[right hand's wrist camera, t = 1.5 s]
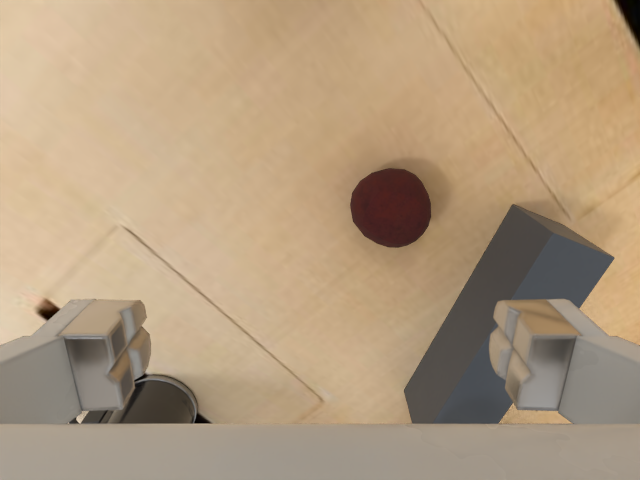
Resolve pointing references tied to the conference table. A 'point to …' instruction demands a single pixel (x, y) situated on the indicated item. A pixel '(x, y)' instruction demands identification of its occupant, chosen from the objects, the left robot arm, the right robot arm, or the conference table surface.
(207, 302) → the conference table surface
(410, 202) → the dark red ball
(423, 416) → the box
